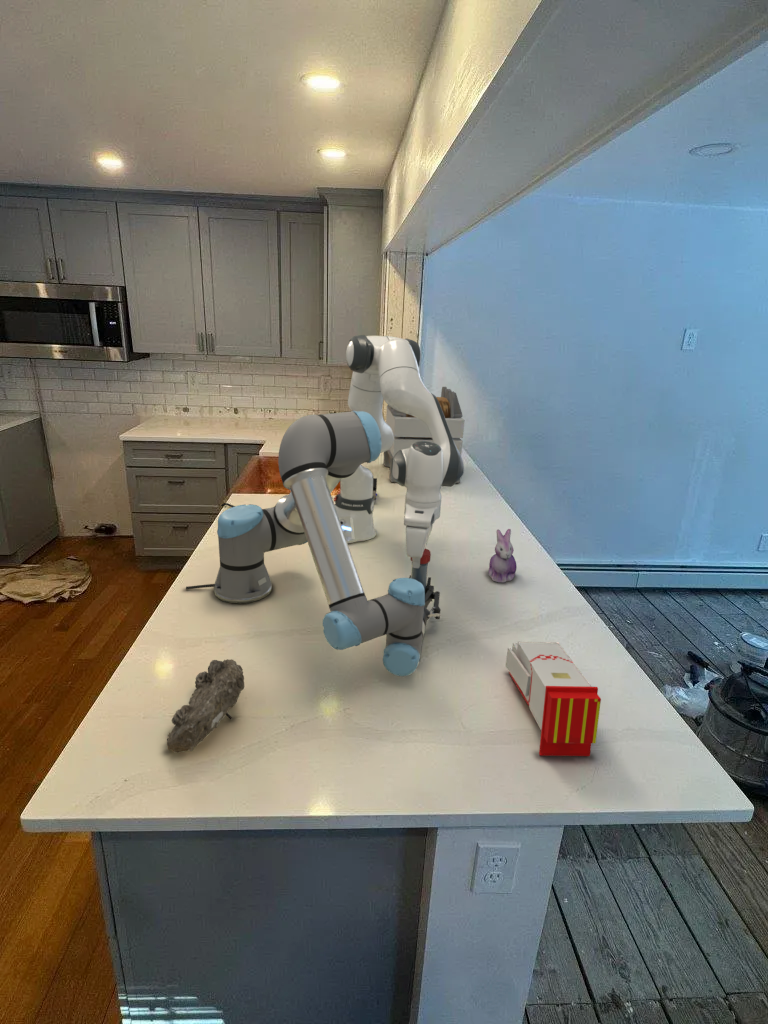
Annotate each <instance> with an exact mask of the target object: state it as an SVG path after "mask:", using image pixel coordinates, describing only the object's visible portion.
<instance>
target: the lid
mask: <svg viewBox="0 0 768 1024" xmlns="http://www.w3.org/2000/svg"><path fill="white" fill-rule="evenodd" d="M431 556H432V553H431V550H430V549H428V548H426V549H425V550H424V552H423V555H422V557H421V559H420V560H421V562H420V564H426V563H428V564H429V563H430V562H431ZM409 558H410V561H411V563H412V562H413V561H412V557H409Z"/></svg>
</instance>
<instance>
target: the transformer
mask: <svg viewBox="0 0 768 1024" xmlns="http://www.w3.org/2000/svg"><path fill="white" fill-rule="evenodd" d="M440 393H441V394H440V396H436V398H437V399H438V401H439V404H440V406H441V409H442V411H443V414H444V416H445V419H446V422H447V425H448V427H449V430H450V433H451V436H452V438H453V441H454V443H455V446H456V447H457V449H458V451H459V453H460V455H461V456H462V453H463V442H464V441H463V440H462V439H463V438H464V431H465V430H464V429H465V419H464V418H463V411H462V408H461V405H460V402H459V398H458V395H457V392H455V391H453V390H452V389H451V388H447V386H442V387H441V392H440ZM385 414H386V415H385V422H386V423H387V424H388V425H389V426H390V427H391V429H392V431H393V435H394V441H393V445H392V447H391V448H390V449H389V450H388V451H385V452H383V466H384V467H388V468H389V475H388V476H389V477H388V478H389V480H390V482H391V483H397V482H396V481H395V480H394V479H393V478H392V475H391V469H392V458H393V457H394V455H395V454H396V453H397V452H398V451H399V450H402V449H408V448H410V447H411V445H412V444H413V443H415V442H419V441H429V442H432V443H434V442H433V439H432V436H431V434H430V431H429V428H428V426H427V425H426V424H425V423H424V422H423V421H422V420H420V419H418V418H416V417H414V416H412V415H409V414H406V413H403V412H399V411H397V410H395V409H393V408H392V407H390V406H389V405H388V404H387V405H386V413H385ZM459 483H461V478H460V479H459V481H458V482H457V483H456V484H459Z"/></svg>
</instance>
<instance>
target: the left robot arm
mask: <svg viewBox="0 0 768 1024" xmlns="http://www.w3.org/2000/svg"><path fill="white" fill-rule="evenodd" d="M381 446H382V442H381V434H380V430H379V427H378V424H377V422H376V421H375V419H374V418H373V417H372V416H371V415H370V414H369V413H367V412H364V411H351V410H350V411H342V412H332V413H321V414H308V415H305V416H302V417H300V418H298V419H296V420H295V421H293V422H292V423H291V424H290V425H289V426H288V428H287V430H286V431H285V432H284V434H283V435H282V439H281V441H280V445H279V450H278V456H277V457H278V458H277V460H278V461H277V463H278V471H279V477H280V479H281V482H282V485H283V488H285V489H287V490H289V491H290V492H289V493H288V494H285V495H283V496H281V497H280V498H279V499H278V501H277V502H276V504H275V505H274V506H272V507H267V508H262V507H261V506H260V505H257V504H251V503H250V504H239V505H234V506H235V507H229V508H227V509H225V510H224V511H222V513H220V515H219V516H218V517H217V518H218V519H217V531H216V533H217V538H218V540H217V541H218V556H219V569H218V572H217V575H216V578H215V583H208V584H199V585H198V584H197V585H189V586H186V587H185V590H196V589H203V588H205V589H206V588H214V589H213V591H214V596H215V597H216V598H217V599H219V600H221V601H223V602H225V603H231V604H248V603H249V604H250V603H254V602H257V601H260V600H263V599H264V598H266V597H268V596H269V594H271V592H272V590H273V587H272V586H273V584H272V579H271V577H270V574H269V572H268V570H267V569H268V568H267V567H266V564H265V553H267V552H272V551H276V550H277V551H278V550H281V549H285V548H290V547H294V546H301V545H305V544H308V548H309V550H310V554H311V557H312V559H313V562H314V565H315V568H316V572H317V574H318V577H319V581H320V584H321V587H322V589H323V592H324V595H325V598H326V601H327V604H328V607H329V608H328V609H329V612H328V613H326V614H325V615H324V617H323V619H322V627H323V630H322V632H323V635H324V638H325V640H326V642H327V643H328V645H329V646H330V647H331V648H332V649H335V650H337V651H338V650H339V651H343V650H346V649H349V648H352V647H358V646H360V645H362V644H363V643H366V642H369V641H372V640H374V639H377V638H380V637H382V636H386V637H385V638H386V639H385V641H386V642H385V647H384V649H383V655H382V663H383V667H384V668H385V670H386V671H387V672H389V673H390V674H391V675H394V676H397V677H408V676H410V675H411V674H414V672H416V670H417V668H418V666H419V663H420V662H421V653H422V648H423V642H424V636H425V632H426V628H427V622H428V621H429V620H430V618H434V619H435V620H440V619H441V607H440V597H441V592H440V591H437V590H436V591H435V585H432V577H430V576H427V585H426V594H425V589H424V586H423V585H422V583H420V582H418V581H417V580H415V579H412V578H411V574H410V575H409V577H398V578H394V579H392V581H391V582H390V583H389V585H388V589H387V594H384V595H381V596H378V597H374V598H372V599H369V600H368V598H367V596H366V593H365V591H364V587H363V585H362V582H361V579H360V576H359V573H358V570H357V567H356V564H355V561H354V558H353V556H352V552H351V550H350V547H349V543H347V541H346V538H345V535H344V532H343V529H342V526H341V523H340V520H339V517H338V514H337V511H336V508H335V505H334V504H335V501H334V499H333V496H332V495H331V494H332V492H333V491H334V490H335V488H336V487H337V486H338V484H339V483H340V480H341V479H344V478H348V477H350V476H351V475H353V473H354V472H355V471H356V470H357V468H358V467H359V466H360V465H362V464H364V463H365V464H366V463H367V464H371V463H372V462H375V461H376V460H377V459H379V457H380V455H381V453H380V452H381ZM431 602H433V607H431V608H432V609H430V610H429V609H428V606H429V605H430V604H431Z"/></svg>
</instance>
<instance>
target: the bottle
mask: <svg viewBox="0 0 768 1024" xmlns="http://www.w3.org/2000/svg"><path fill="white" fill-rule="evenodd" d="M412 563H413V562H412V561H411V564H412ZM428 572H429V563H426V564H420V567H419V568H413V567H412V565H411V567H410V575H411V578H412V579H415V580H417V581H418V582H420V583H422V585H423V586H424V589H425V594H426V586H427V581H428Z"/></svg>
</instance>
